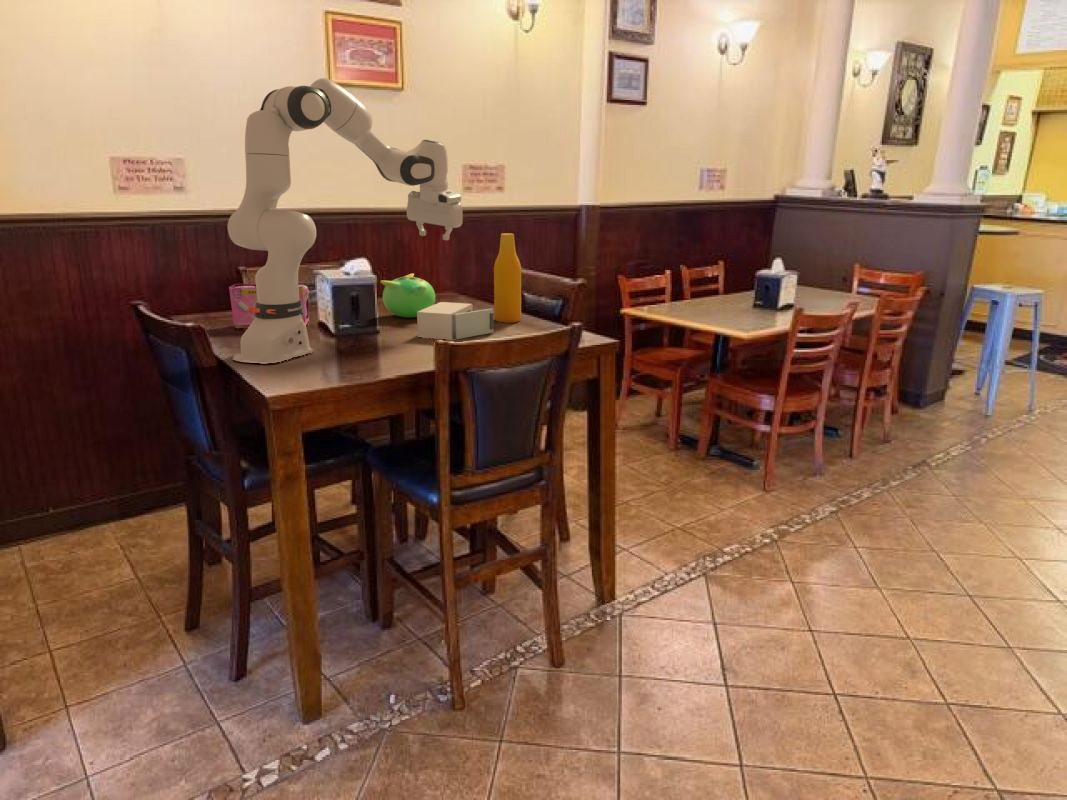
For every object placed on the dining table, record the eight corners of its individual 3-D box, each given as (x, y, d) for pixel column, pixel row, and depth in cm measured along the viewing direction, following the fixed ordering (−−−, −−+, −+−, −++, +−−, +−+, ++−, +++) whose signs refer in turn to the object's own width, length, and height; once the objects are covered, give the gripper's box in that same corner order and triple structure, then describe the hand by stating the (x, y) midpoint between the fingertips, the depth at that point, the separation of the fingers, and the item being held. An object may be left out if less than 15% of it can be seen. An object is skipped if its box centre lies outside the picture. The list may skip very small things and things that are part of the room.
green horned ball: (440, 313, 268) (438, 272, 263) (429, 322, 252) (427, 279, 247) (390, 312, 269) (388, 270, 265) (377, 321, 253) (374, 277, 249)
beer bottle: (517, 323, 251) (518, 235, 243) (491, 322, 253) (490, 234, 244) (523, 318, 260) (524, 233, 251) (497, 317, 262) (497, 232, 253)
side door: (455, 340, 226) (454, 315, 224) (451, 339, 228) (451, 314, 225) (495, 332, 236) (494, 309, 234) (491, 331, 238) (490, 308, 235)
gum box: (314, 323, 250) (310, 282, 246) (310, 328, 242) (306, 286, 238) (239, 324, 247) (234, 283, 243) (233, 330, 239) (228, 287, 235)
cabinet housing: (451, 340, 227) (450, 314, 225) (417, 337, 230) (416, 311, 228) (475, 327, 246) (474, 302, 243) (444, 324, 249) (443, 300, 246)
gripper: (401, 191, 240) (403, 234, 246) (453, 199, 231) (453, 243, 236) (414, 188, 245) (415, 231, 251) (465, 196, 236) (465, 240, 241)
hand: (434, 237), depth 243 cm, fingers open, 8 cm apart
